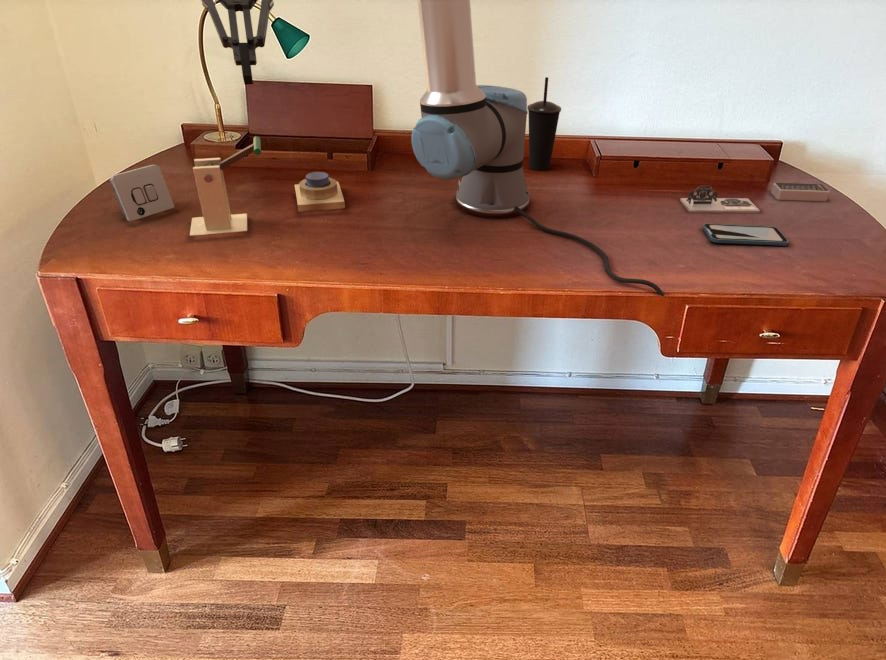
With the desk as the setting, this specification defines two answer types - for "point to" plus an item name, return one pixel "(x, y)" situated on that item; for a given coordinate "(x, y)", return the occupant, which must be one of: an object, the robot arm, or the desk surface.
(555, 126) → the drinking cup
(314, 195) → the button box
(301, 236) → the desk surface
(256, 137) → the lever
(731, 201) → the car cutout
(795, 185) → the multiport hub
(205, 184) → the switch bracket
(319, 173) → the button
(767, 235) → the smartphone
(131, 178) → the electrical switch
